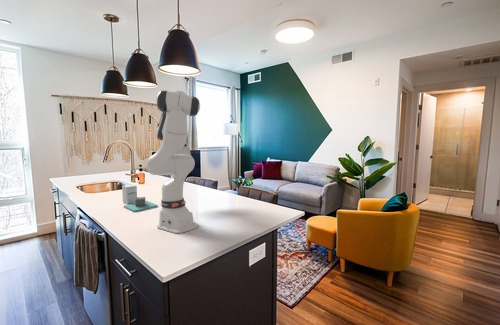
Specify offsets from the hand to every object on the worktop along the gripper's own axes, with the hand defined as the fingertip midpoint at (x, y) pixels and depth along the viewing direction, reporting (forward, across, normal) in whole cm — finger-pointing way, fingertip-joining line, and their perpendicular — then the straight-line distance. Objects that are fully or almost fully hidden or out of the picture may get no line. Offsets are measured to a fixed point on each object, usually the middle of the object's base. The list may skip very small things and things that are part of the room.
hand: (176, 163), depth 169 cm
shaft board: (+29, -24, -4) cm, 38 cm away
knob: (+28, -24, -4) cm, 37 cm away
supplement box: (+29, -33, +11) cm, 45 cm away
